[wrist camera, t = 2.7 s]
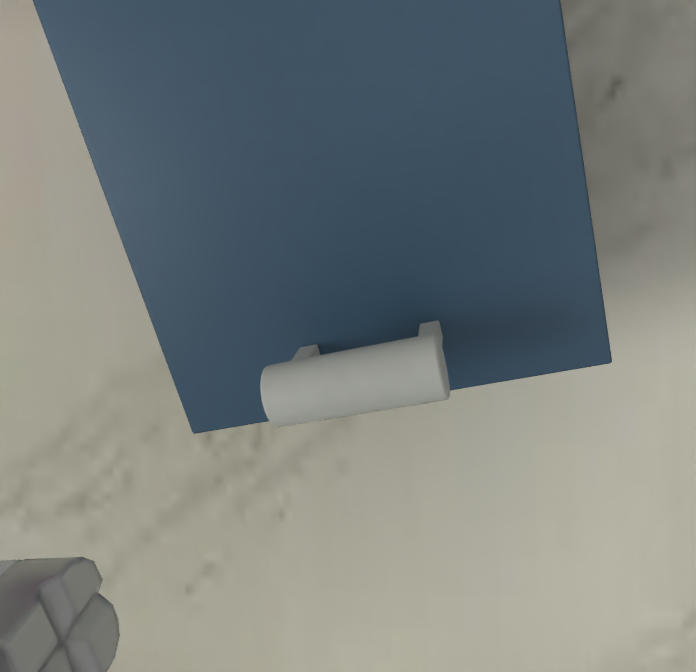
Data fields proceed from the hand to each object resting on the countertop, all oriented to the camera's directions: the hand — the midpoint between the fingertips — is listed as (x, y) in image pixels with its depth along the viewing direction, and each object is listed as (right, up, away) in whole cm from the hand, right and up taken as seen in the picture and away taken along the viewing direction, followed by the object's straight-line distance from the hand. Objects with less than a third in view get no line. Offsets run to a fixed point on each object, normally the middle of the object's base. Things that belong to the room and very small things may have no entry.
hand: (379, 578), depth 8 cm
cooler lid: (-1, +10, +13) cm, 16 cm away
